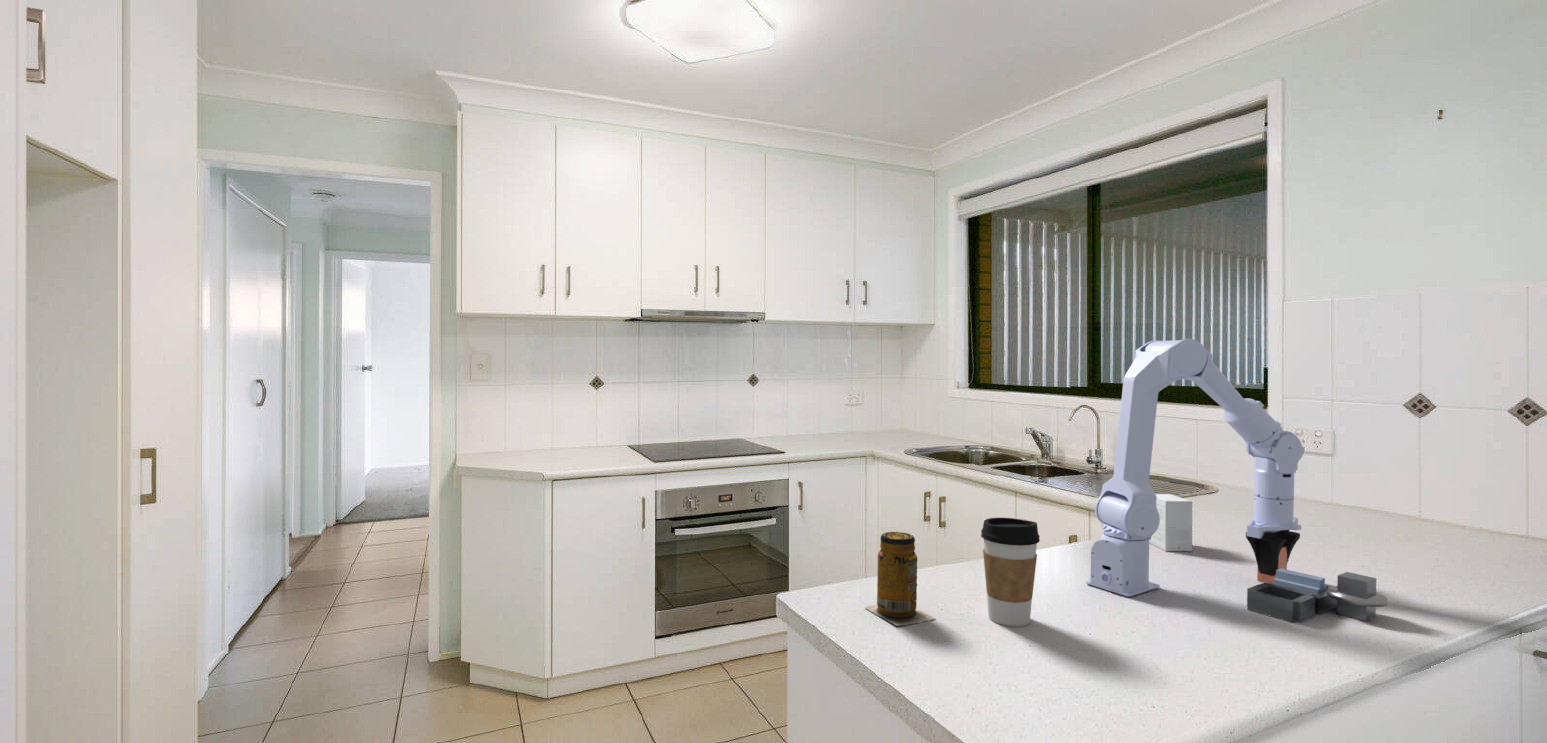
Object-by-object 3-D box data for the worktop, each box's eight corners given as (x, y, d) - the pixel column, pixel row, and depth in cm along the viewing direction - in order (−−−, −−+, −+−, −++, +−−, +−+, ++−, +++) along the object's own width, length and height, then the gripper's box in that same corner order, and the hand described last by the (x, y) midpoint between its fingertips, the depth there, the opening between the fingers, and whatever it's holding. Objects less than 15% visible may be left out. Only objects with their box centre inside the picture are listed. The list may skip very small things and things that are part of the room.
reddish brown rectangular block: (1278, 585, 117) (1278, 548, 117) (1257, 580, 120) (1258, 544, 120) (1286, 582, 119) (1287, 546, 119) (1265, 577, 122) (1266, 542, 122)
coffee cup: (1010, 634, 96) (1011, 530, 96) (968, 614, 103) (969, 517, 103) (1051, 623, 100) (1052, 523, 99) (1007, 605, 107) (1008, 511, 107)
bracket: (1317, 609, 107) (1317, 581, 107) (1272, 598, 112) (1273, 571, 112) (1326, 604, 109) (1327, 577, 109) (1282, 593, 114) (1283, 567, 114)
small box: (1192, 552, 138) (1193, 501, 138) (1165, 551, 138) (1166, 501, 138) (1170, 541, 146) (1171, 493, 146) (1144, 541, 146) (1145, 493, 146)
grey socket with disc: (1352, 640, 95) (1353, 597, 95) (1238, 607, 107) (1239, 569, 107) (1397, 617, 103) (1398, 578, 103) (1286, 589, 116) (1287, 554, 116)
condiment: (901, 601, 109) (902, 528, 109) (936, 620, 101) (936, 540, 101) (864, 608, 106) (864, 532, 105) (896, 628, 98) (897, 546, 98)
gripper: (1280, 505, 112) (1279, 586, 112) (1318, 496, 120) (1316, 572, 120) (1234, 497, 118) (1232, 574, 119) (1272, 490, 126) (1271, 562, 126)
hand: (1272, 572), depth 120 cm, fingers closed on reddish brown rectangular block, 3 cm apart
